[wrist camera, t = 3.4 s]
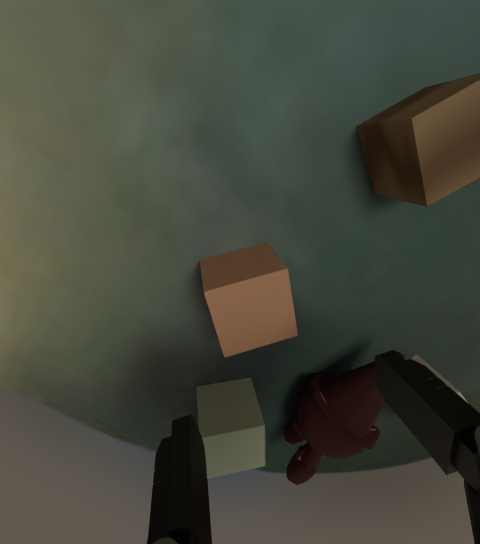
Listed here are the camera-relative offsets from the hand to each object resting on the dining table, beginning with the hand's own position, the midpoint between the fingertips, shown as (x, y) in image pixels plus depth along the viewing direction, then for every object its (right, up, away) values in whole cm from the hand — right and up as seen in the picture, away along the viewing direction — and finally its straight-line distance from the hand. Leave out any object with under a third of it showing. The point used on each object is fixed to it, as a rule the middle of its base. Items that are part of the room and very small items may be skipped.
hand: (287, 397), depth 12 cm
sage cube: (-3, -7, +15) cm, 17 cm away
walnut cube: (+9, +14, +8) cm, 18 cm away
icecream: (+6, -6, +16) cm, 18 cm away
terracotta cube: (-2, +5, +10) cm, 11 cm away
